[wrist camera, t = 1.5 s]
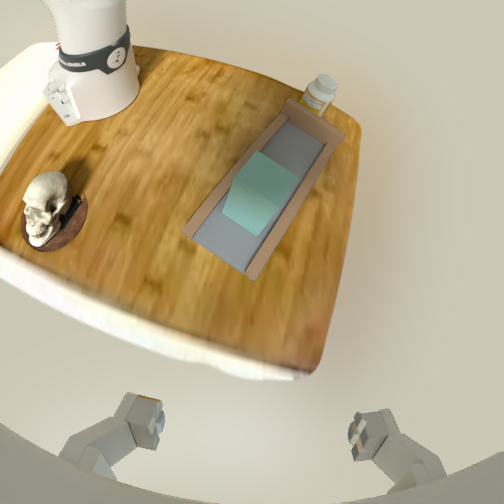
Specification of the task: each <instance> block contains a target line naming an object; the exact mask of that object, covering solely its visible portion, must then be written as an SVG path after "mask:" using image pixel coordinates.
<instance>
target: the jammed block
mask: <svg viewBox="0 0 504 504" xmlns="http://www.w3.org/2000/svg"><path fill="white" fill-rule="evenodd" d="M298 179H299V178H298V177H297V176H295V175H294V174H292V173H291V172H290V171H288V170H287V169H285V168H284V167H282V166H281V165H279V164H278V163H276V162H274V161H273V160H271V159H270V158H268V157H267V156H265V155H264V154H262V153H261V152H259V151H256V152H255V153H254V154H253V155H252V157H251V158H250V159H249V160H248V161H247V163H246V164H245V165H244V166H243V167H242V169H241V170H240V171H239V172H238V174H237V175H236V176H235V177H234V180H233V182H232V185H231V188H230V191H229V194H228V197H227V199H226V202H225V205H224V208H223V211H222V214H224V215H225V216H227V217H228V218H230V219H231V220H233V221H234V222H236V223H237V224H239V225H240V226H242V227H243V228H245V229H246V230H248V231H249V232H251V233H252V234H254V235H255V236H258V235H259V233H260V232H261V231H262V230H263V228H264V227H265V226H266V224H267V223H268V222H269V221H270V219H271V218H272V217H273V215H274V214H275V213H276V211H277V210H278V209H279V208H280V206H281V205H282V203H283V201H284V200H285V198H286V197H287V195H288V194H289V192H290V191H291V189H292V188H293V186H294V185H295V183H296V182H297V180H298Z"/></svg>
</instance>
